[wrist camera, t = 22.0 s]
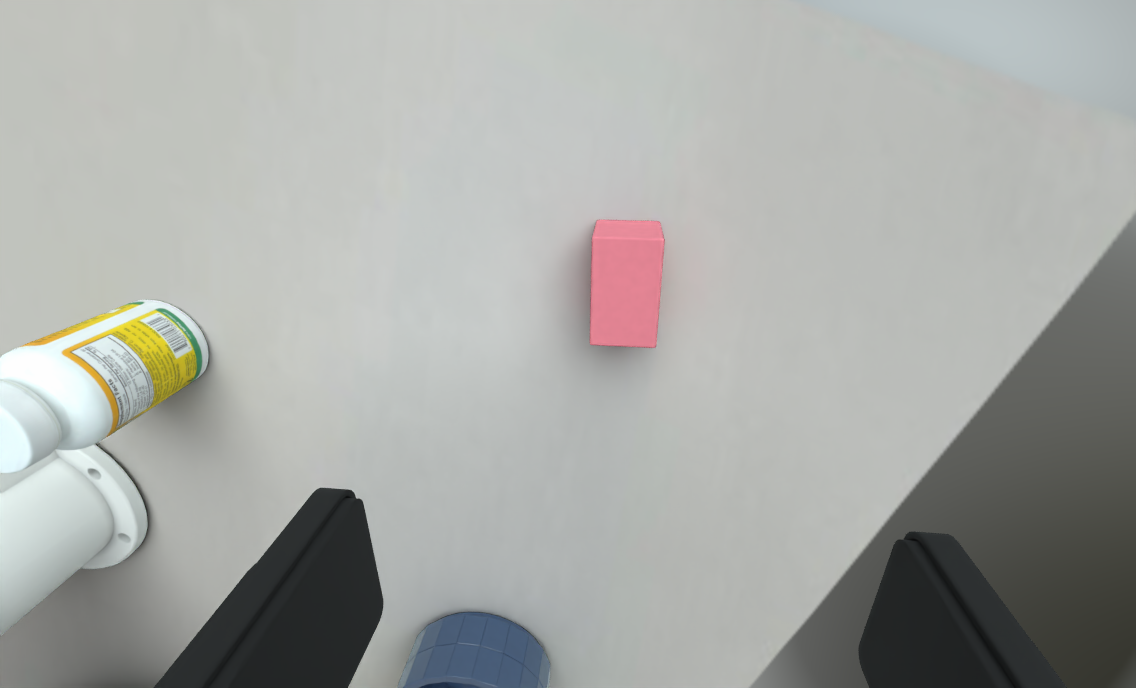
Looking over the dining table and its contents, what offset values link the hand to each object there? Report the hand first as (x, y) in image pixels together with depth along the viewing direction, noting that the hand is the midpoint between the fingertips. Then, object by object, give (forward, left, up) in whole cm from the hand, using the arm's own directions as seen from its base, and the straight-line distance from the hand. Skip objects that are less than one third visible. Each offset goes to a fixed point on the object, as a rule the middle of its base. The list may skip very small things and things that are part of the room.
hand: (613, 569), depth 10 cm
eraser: (0, 0, -18) cm, 18 cm away
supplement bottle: (+5, -26, -18) cm, 32 cm away
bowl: (+30, -9, -18) cm, 36 cm away
